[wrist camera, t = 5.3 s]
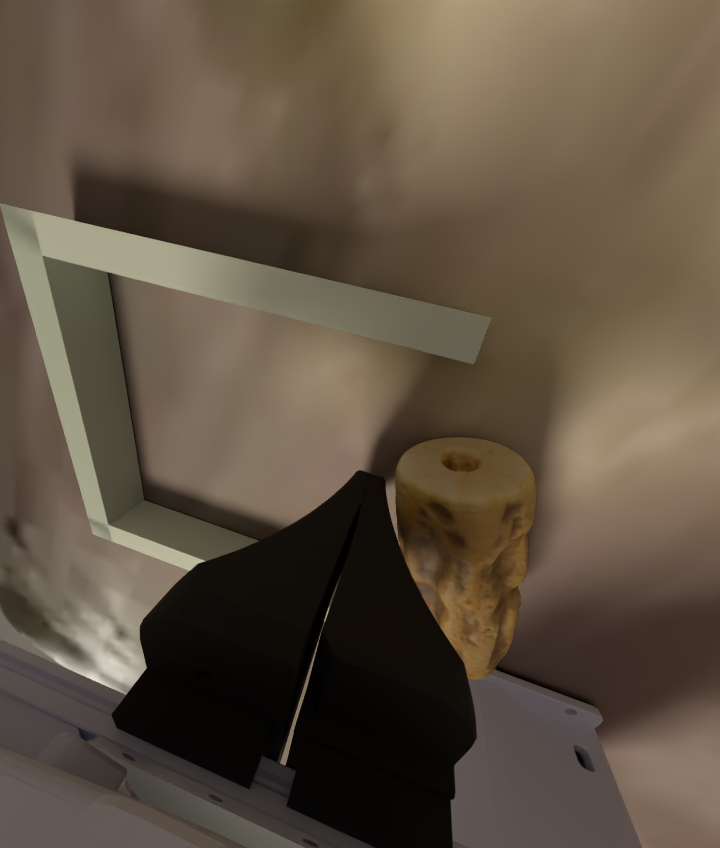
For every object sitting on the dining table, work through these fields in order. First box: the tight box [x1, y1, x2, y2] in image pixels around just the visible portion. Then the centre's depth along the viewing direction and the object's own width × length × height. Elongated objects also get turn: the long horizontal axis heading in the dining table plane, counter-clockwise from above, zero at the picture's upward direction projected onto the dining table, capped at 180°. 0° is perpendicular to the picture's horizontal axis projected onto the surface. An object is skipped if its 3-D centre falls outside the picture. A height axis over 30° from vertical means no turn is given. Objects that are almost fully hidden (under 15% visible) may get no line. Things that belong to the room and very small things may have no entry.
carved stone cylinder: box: [395, 437, 537, 680], centre depth 10 cm, size 8×4×4 cm, turn 7°
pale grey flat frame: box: [0, 204, 492, 622], centre depth 12 cm, size 15×14×2 cm
